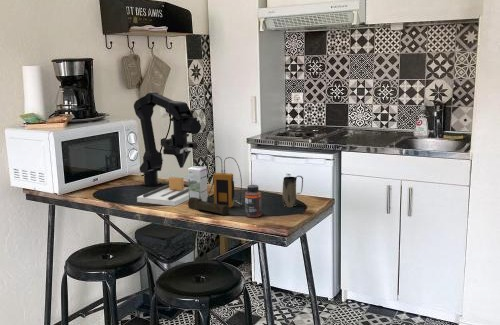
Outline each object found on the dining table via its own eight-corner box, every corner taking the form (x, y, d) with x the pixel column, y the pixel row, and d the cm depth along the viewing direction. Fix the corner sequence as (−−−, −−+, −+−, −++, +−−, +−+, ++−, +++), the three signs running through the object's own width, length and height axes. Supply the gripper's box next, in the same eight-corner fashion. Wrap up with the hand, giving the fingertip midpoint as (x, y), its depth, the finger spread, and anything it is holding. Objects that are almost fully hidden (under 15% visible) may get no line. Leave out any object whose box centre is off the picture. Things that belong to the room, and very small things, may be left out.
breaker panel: (166, 189, 227) (166, 182, 227) (201, 193, 220) (201, 185, 220) (137, 201, 207) (136, 194, 207) (175, 206, 200) (174, 198, 200)
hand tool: (230, 214, 189) (229, 202, 188) (223, 217, 186) (222, 204, 185) (193, 206, 201) (193, 195, 200) (186, 208, 198) (185, 197, 197)
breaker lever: (171, 188, 220) (171, 176, 219) (183, 189, 218) (183, 177, 217) (169, 189, 218) (168, 177, 217) (181, 190, 216) (180, 178, 215)
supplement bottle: (260, 213, 189) (260, 183, 187) (262, 217, 184) (262, 187, 181) (244, 213, 189) (244, 184, 187) (246, 218, 183) (245, 188, 181)
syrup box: (208, 201, 207) (207, 166, 204) (200, 205, 201) (199, 169, 199) (196, 200, 209) (194, 165, 206) (188, 203, 204) (187, 168, 201)
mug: (280, 206, 198) (280, 176, 195) (284, 202, 203) (284, 173, 200) (300, 208, 195) (300, 177, 193) (304, 204, 200) (304, 174, 198)
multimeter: (248, 202, 205) (248, 153, 201) (240, 208, 195) (239, 157, 192) (215, 199, 209) (213, 151, 206) (205, 206, 200) (203, 156, 196)
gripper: (176, 128, 229) (177, 162, 232) (151, 133, 213) (153, 170, 216) (197, 129, 225) (198, 164, 228) (174, 135, 208) (175, 172, 211)
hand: (181, 167), depth 221 cm, fingers closed
